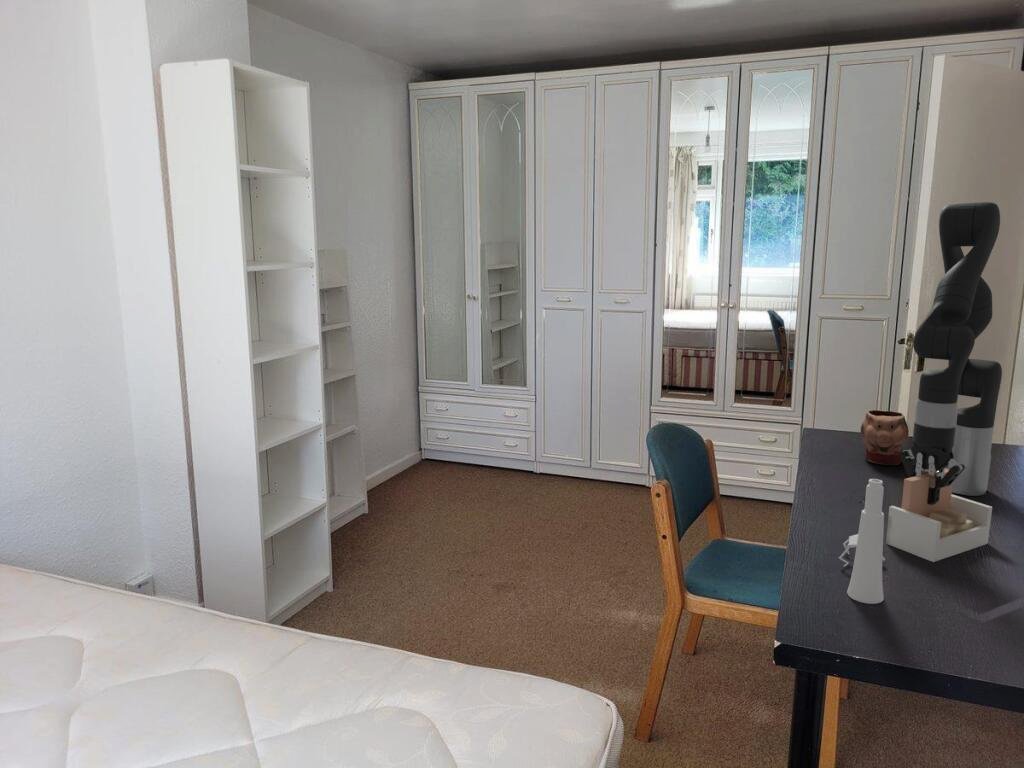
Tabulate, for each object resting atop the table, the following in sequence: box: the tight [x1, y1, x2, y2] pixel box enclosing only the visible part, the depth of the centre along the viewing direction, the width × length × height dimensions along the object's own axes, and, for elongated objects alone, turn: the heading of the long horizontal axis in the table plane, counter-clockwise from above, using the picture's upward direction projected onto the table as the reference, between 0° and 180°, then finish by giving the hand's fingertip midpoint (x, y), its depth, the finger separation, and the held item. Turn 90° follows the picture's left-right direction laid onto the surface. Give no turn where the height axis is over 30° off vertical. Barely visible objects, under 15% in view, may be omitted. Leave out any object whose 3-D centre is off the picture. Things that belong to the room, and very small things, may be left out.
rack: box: [885, 493, 993, 563], centre depth 158 cm, size 18×10×9 cm, turn 118°
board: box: [900, 467, 953, 518], centre depth 160 cm, size 14×2×14 cm, turn 118°
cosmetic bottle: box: [846, 478, 885, 605], centre depth 137 cm, size 6×6×22 cm
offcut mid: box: [940, 519, 973, 539], centre depth 157 cm, size 9×4×2 cm, turn 118°
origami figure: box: [838, 533, 886, 567], centre depth 153 cm, size 12×8×5 cm
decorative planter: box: [860, 409, 910, 466], centre depth 217 cm, size 20×12×14 cm, turn 161°
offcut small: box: [929, 508, 967, 529], centre depth 156 cm, size 6×4×2 cm, turn 118°
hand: (926, 501), depth 160 cm, fingers closed on board, 1 cm apart
